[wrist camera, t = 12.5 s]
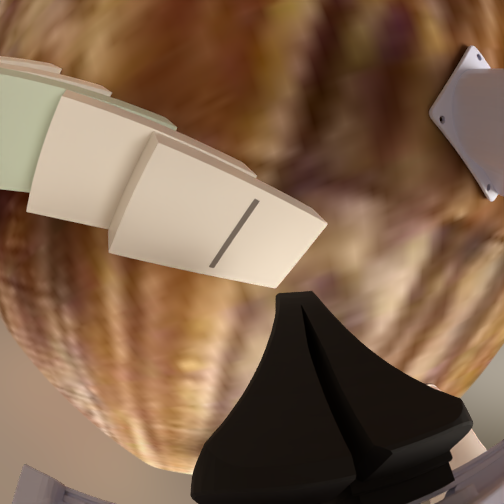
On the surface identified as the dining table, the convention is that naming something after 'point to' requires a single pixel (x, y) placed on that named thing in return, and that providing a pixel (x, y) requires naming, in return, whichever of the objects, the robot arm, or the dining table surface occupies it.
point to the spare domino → (37, 122)
